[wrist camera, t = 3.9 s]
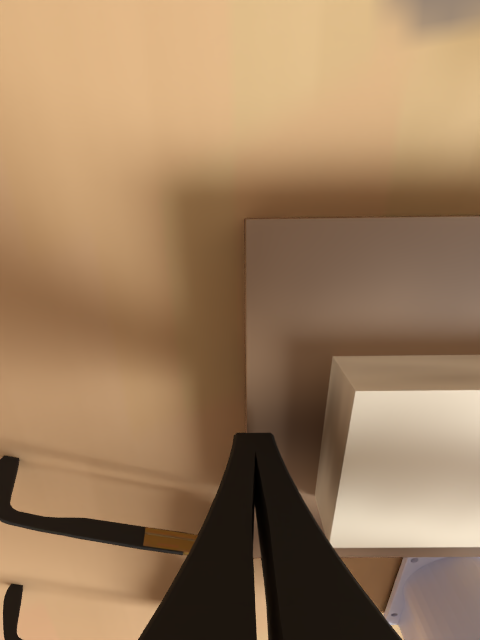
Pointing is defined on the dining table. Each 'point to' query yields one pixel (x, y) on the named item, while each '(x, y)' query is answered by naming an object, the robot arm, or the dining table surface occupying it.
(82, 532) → the sunglasses
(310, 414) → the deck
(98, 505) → the dining table surface
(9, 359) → the dining table surface
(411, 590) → the robot arm
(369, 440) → the cream rectangular block
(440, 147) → the dining table surface
